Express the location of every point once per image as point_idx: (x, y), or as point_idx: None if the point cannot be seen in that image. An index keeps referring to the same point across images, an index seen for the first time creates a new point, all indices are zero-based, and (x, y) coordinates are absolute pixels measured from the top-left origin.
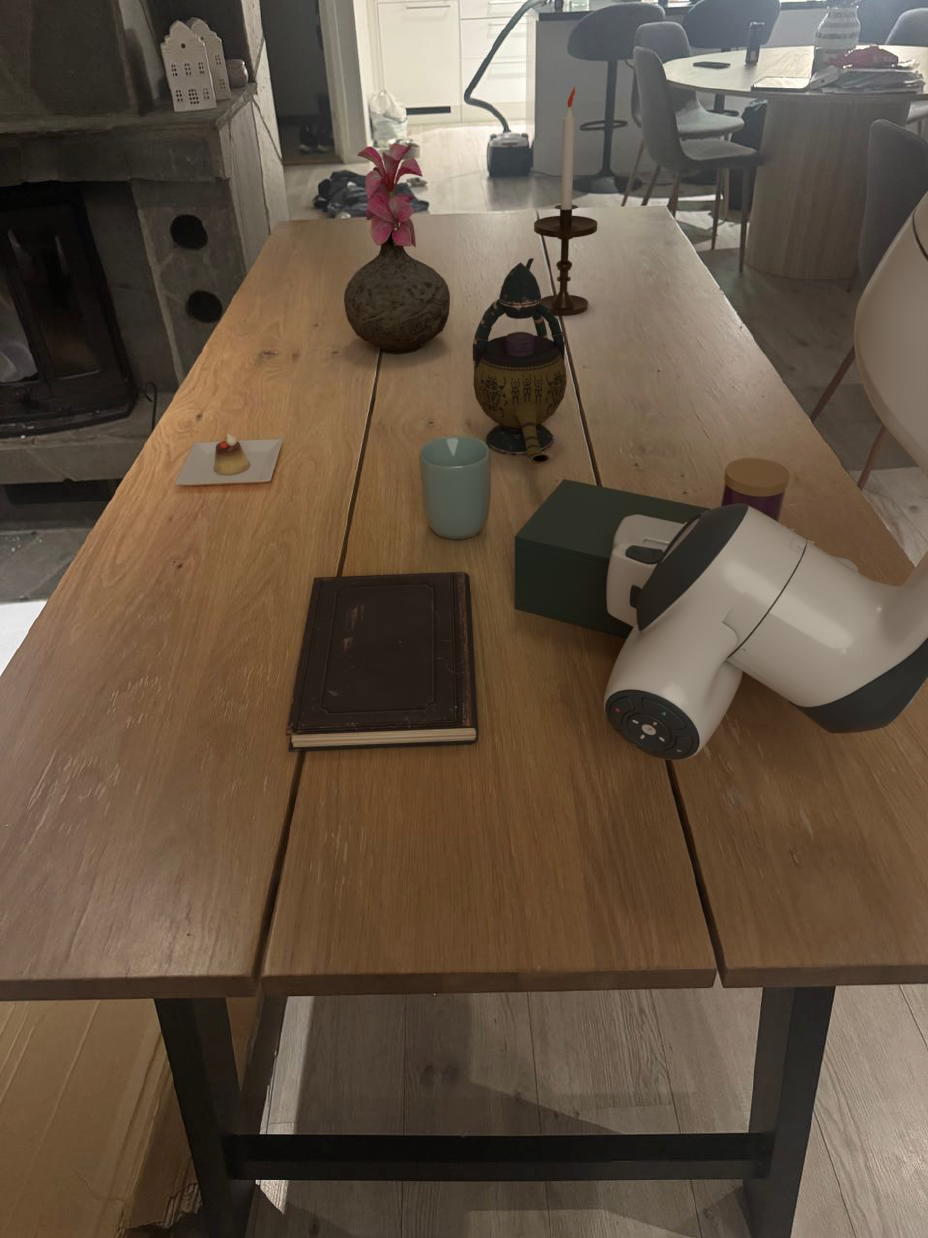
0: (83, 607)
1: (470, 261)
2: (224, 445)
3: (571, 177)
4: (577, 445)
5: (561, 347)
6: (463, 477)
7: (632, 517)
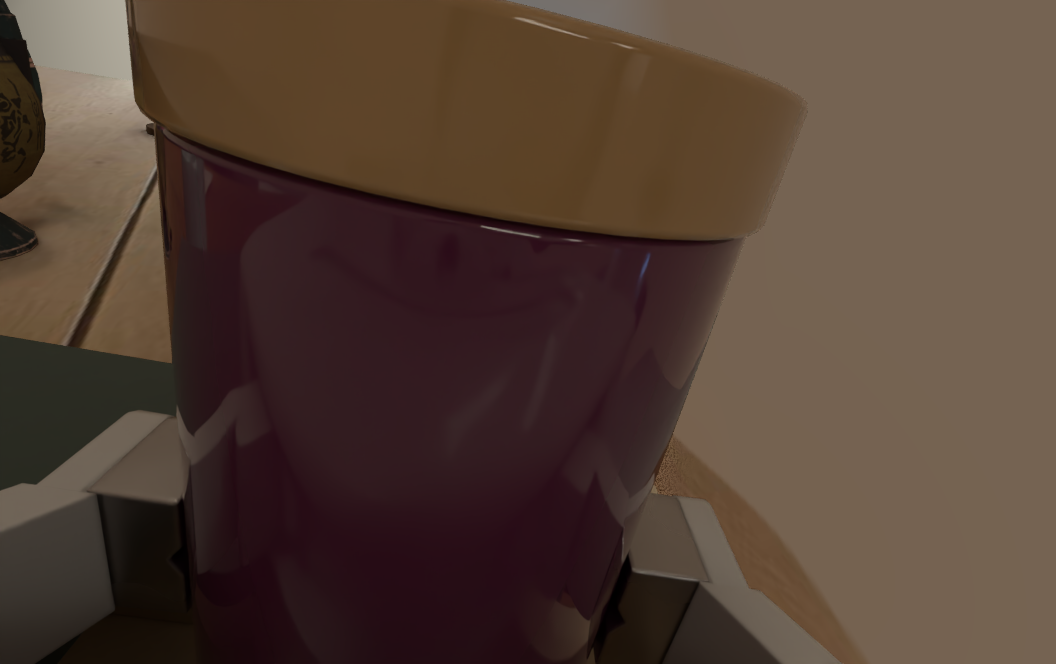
0: None
1: (85, 95)
2: None
3: None
4: (86, 257)
5: (13, 47)
6: None
7: None
